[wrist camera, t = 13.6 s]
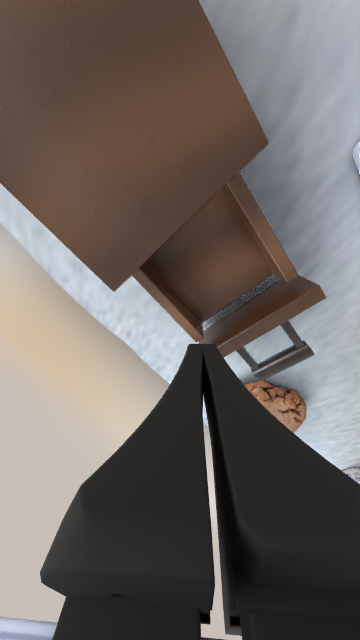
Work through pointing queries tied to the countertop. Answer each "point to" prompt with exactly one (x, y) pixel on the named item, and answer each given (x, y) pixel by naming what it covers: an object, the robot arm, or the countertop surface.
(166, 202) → the cabinet
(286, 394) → the cookie
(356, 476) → the energy drink
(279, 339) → the countertop surface
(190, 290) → the drawer
